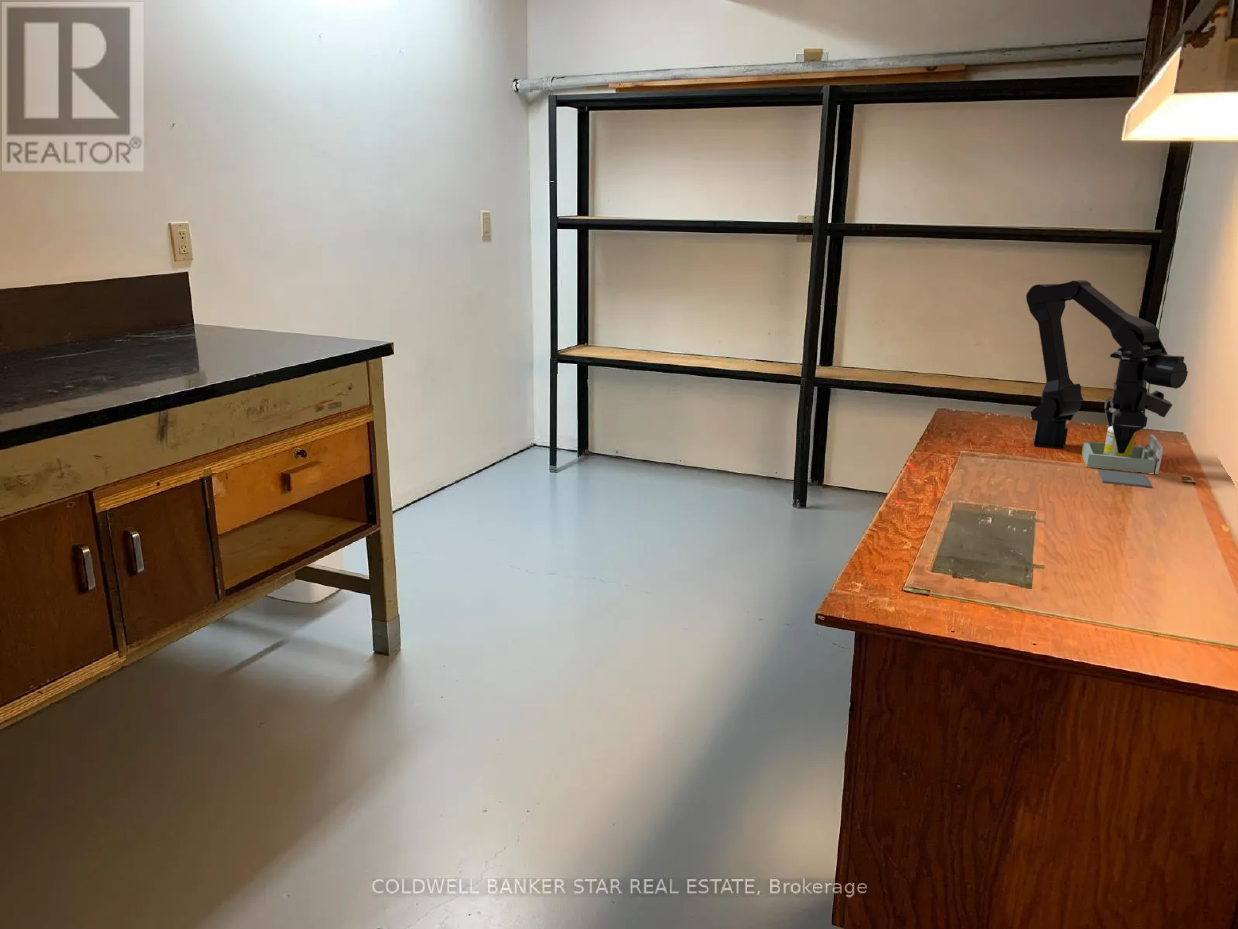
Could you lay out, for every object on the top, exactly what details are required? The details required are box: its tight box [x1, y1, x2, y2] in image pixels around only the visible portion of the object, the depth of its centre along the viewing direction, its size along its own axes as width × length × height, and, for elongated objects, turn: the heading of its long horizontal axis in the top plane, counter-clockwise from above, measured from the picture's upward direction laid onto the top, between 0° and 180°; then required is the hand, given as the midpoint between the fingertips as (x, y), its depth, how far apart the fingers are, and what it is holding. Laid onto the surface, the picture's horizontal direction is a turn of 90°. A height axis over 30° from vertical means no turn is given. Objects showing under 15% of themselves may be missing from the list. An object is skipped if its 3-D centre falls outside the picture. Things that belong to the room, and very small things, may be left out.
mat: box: [1097, 469, 1153, 489], centre depth 183 cm, size 9×9×1 cm
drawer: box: [1081, 433, 1164, 475], centre depth 194 cm, size 14×13×6 cm
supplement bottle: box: [1103, 426, 1137, 457], centre depth 194 cm, size 6×6×10 cm
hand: (1118, 448), depth 194 cm, fingers open, 9 cm apart
